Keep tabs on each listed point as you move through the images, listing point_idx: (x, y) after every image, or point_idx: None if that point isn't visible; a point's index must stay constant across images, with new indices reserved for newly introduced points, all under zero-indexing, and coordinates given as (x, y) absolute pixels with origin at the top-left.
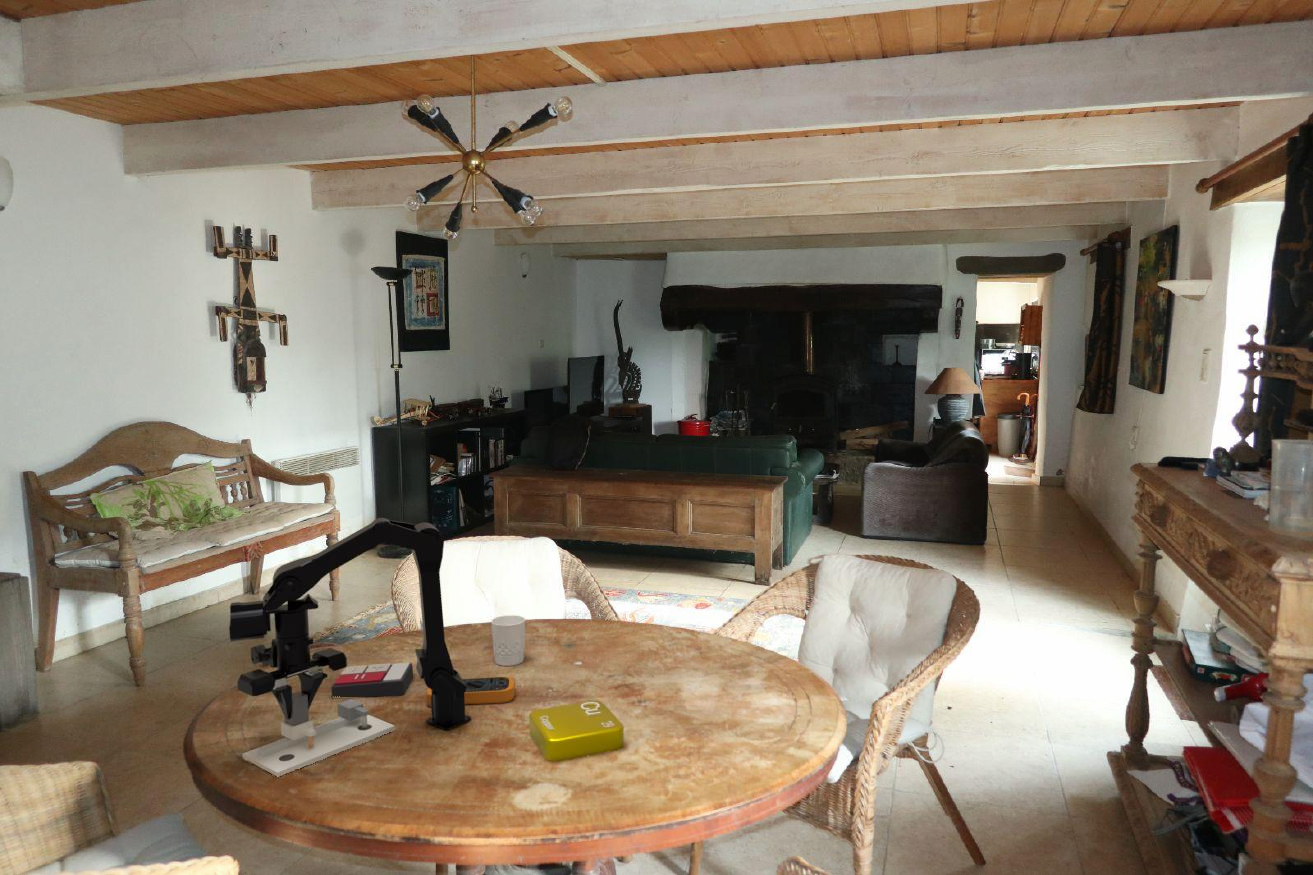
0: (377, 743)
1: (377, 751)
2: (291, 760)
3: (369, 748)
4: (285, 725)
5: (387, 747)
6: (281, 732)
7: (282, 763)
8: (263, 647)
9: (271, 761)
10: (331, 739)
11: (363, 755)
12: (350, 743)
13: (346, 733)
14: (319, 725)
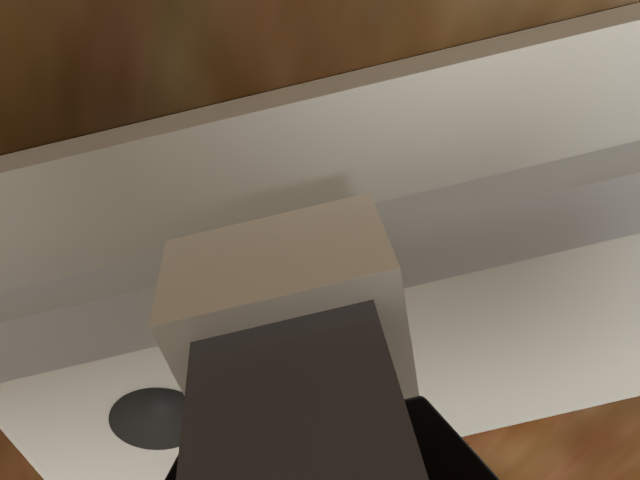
0: (624, 406)
1: (564, 465)
2: (176, 453)
3: (563, 430)
4: (183, 382)
5: (618, 454)
6: (163, 255)
7: (121, 464)
8: None
9: (61, 422)
10: (475, 337)
11: (500, 470)
12: (516, 423)
13: (590, 307)
14: (568, 43)
